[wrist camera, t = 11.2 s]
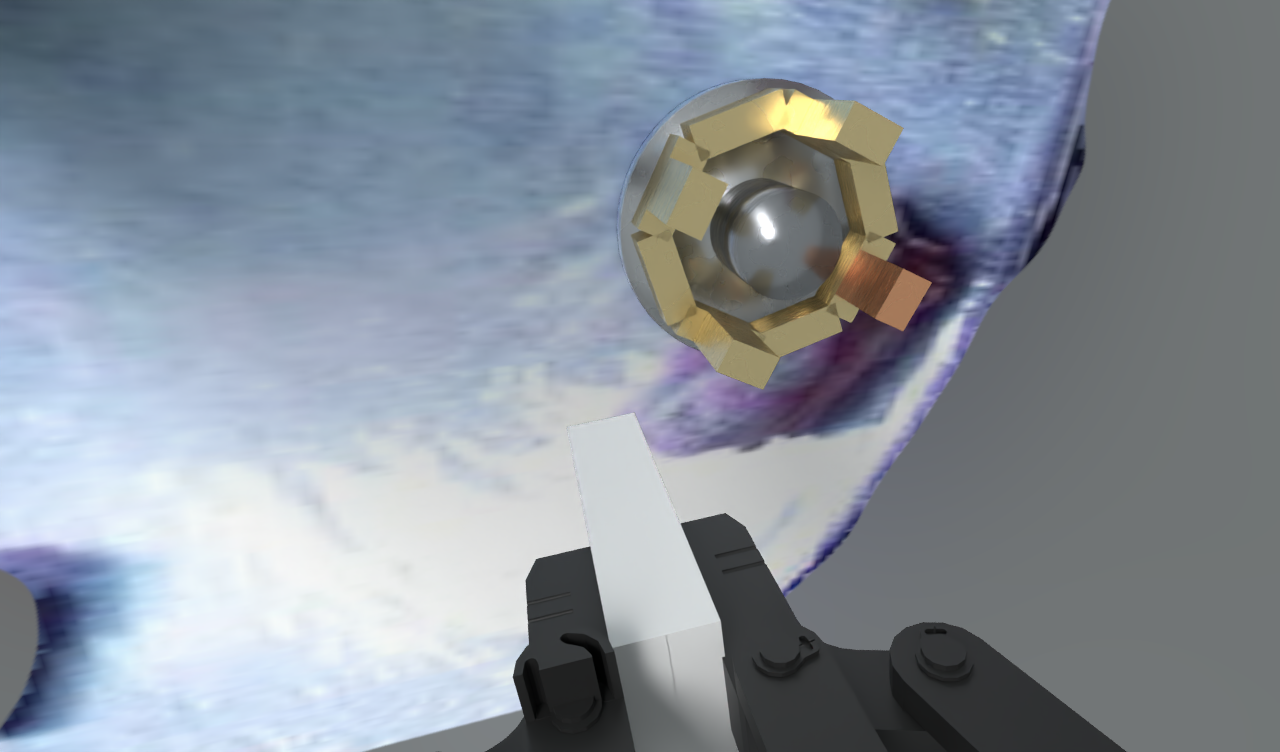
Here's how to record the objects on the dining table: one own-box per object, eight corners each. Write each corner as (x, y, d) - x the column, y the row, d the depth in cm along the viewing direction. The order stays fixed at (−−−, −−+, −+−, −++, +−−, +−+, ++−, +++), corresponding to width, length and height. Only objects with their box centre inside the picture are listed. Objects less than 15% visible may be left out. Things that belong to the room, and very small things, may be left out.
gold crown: (598, 295, 43) (616, 333, 36) (707, 49, 38) (750, 41, 32) (801, 376, 47) (849, 422, 41) (917, 164, 43) (992, 178, 37)
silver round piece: (595, 102, 40) (613, 106, 34) (873, 58, 42) (939, 53, 36) (637, 372, 47) (659, 417, 41) (875, 323, 49) (931, 358, 43)
